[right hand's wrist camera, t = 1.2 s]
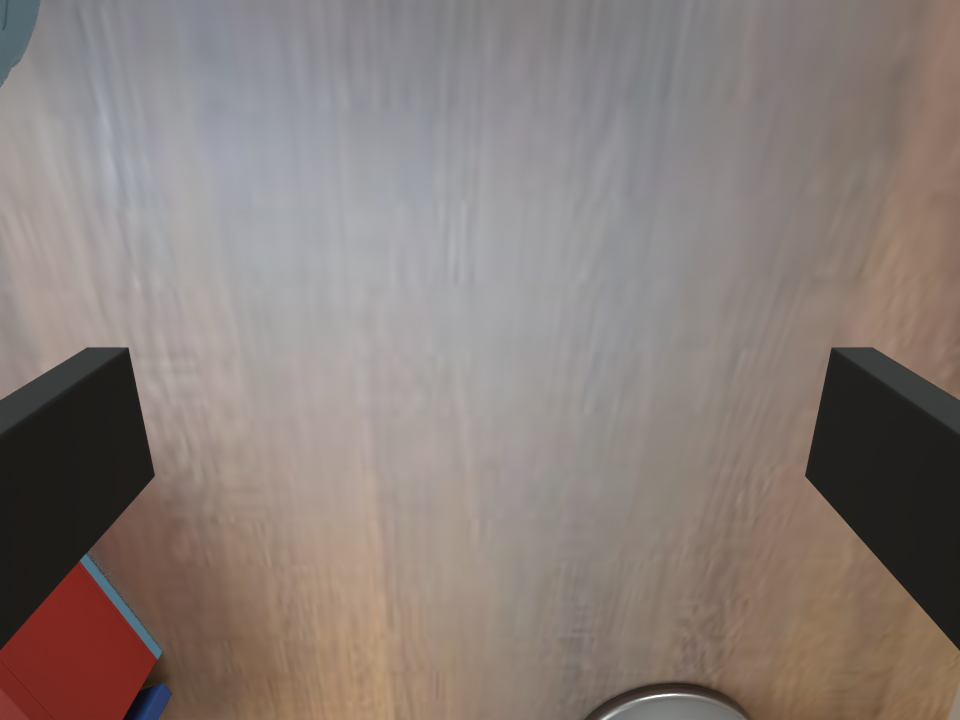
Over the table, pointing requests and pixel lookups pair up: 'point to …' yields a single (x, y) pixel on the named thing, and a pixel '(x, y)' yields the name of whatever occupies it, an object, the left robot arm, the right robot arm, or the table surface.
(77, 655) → the cabinet
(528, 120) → the table surface
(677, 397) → the table surface
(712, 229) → the table surface
